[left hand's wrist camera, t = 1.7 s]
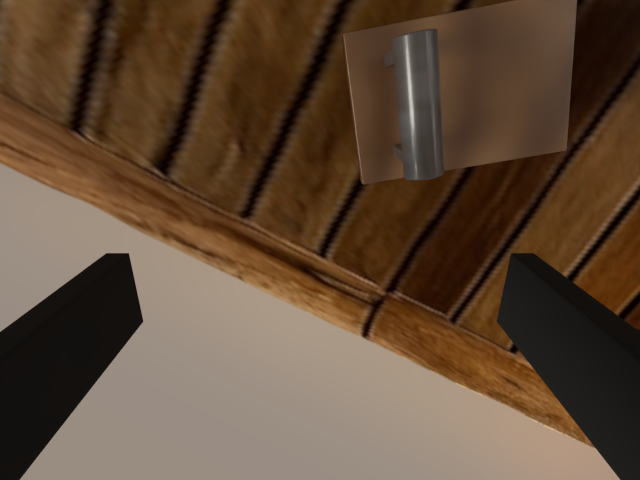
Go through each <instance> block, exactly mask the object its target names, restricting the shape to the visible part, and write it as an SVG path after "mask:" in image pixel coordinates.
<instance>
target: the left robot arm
mask: <svg viewBox="0 0 640 480" xmlns="http://www.w3.org/2000/svg"><path fill="white" fill-rule="evenodd" d="M142 322H143V318H142V314H141V309H140V304H139V299H138V295H137V290H136V285H135V281H134V276H133V271H132V266H131V262H130V257H129V254H128V253H107V254H105V255H104V256H102V257H101V258H100V259H98V260H97V261H96V262H94V263H93V264H91V265H90V266H89V267H87V268H86V269H85V270H83V271H82V272H81V273H79V274H78V275H77V276H75V277H74V278H73V279H71V280H70V281H69V282H67V283H66V284H64V285H63V286H62V287H60V288H59V289H58V290H57V291H55V292H54V293H52V294H51V295H50V296H48V297H47V298H46V299H44V300H43V301H42V302H40V303H39V304H38V305H36V306H35V307H34V308H32V309H31V310H29V311H28V312H27V313H25V314H24V315H23V316H21V317H20V318H19V319H17V320H16V321H15V322H13V323H12V324H11V325H9V326H8V327H6V328H5V329H4V330H2V331H1V332H0V480H20V478H21V477H22V476H23V474H24V473H25V472H26V471H27V469H28V468H29V467H30V466H31V464H32V463H33V462H34V460H35V459H36V458H37V457H38V455H39V454H40V453H41V452H42V450H43V449H44V448H45V446H46V445H47V444H48V442H49V441H50V440H51V439H52V437H53V436H54V435H55V434H56V432H57V431H58V430H59V428H60V427H61V426H62V425H63V423H64V422H65V421H66V420H67V418H68V417H69V416H70V414H71V413H72V412H73V411H74V409H75V408H76V407H77V405H78V404H79V403H80V402H81V400H82V399H83V398H84V397H85V395H86V394H87V393H88V391H89V390H90V389H91V388H92V386H93V385H94V384H95V382H96V381H97V380H98V379H99V377H100V376H101V375H102V373H103V372H104V371H105V370H106V368H107V367H108V366H109V364H110V363H111V362H112V361H113V359H114V358H115V357H116V356H117V354H118V353H119V352H120V350H121V349H122V348H123V347H124V345H125V344H126V343H127V341H128V340H129V339H130V338H131V336H132V335H133V334H134V333H135V331H136V330H137V329H138V327H139V326H140V325H141V324H142ZM497 322H498V324H499V325H500V326H501V327H502V329H503V330H504V331H505V333H506V334H507V335H508V336H509V338H510V339H511V340H512V342H513V343H514V344H515V345H516V347H517V348H518V349H519V350H520V352H521V353H522V354H523V356H524V357H525V358H526V359H527V361H528V362H529V363H530V365H531V366H532V367H533V368H534V370H535V371H536V372H537V373H538V375H539V376H540V377H541V379H542V380H543V381H544V382H545V384H546V385H547V386H548V388H549V389H550V390H551V391H552V393H553V394H554V395H555V397H556V398H557V399H558V400H559V402H560V403H561V404H562V405H563V407H564V408H565V409H566V411H567V412H568V413H569V414H570V416H571V417H572V418H573V420H574V421H575V422H576V423H577V425H578V426H579V427H580V429H581V430H582V431H583V432H584V434H585V435H586V436H587V437H588V439H589V440H590V441H591V443H592V444H593V445H594V446H595V448H596V449H597V450H598V452H599V453H600V454H601V455H602V457H603V458H604V459H605V460H606V462H607V463H608V464H609V466H610V467H611V468H612V469H613V471H614V472H615V473H616V475H617V476H618V477H619V478H620V480H640V330H638V329H635V328H634V327H632V326H631V325H630V324H628V323H627V322H625V321H624V320H623V319H621V318H620V317H619V316H617V315H616V314H615V313H613V312H612V311H611V310H609V309H608V308H607V307H605V306H604V305H603V304H601V303H600V302H598V301H597V300H596V299H594V298H593V297H592V296H590V295H589V294H588V293H586V292H585V291H584V290H582V289H581V288H580V287H578V286H577V285H576V284H574V283H573V282H571V281H570V280H569V279H567V278H566V277H565V276H563V275H562V274H561V273H559V272H558V271H557V270H555V269H554V268H553V267H551V266H550V265H549V264H547V263H546V262H544V261H543V260H542V259H540V258H539V257H538V256H536V255H535V254H534V253H511V257H510V262H509V266H508V271H507V276H506V281H505V285H504V290H503V295H502V299H501V304H500V309H499V314H498V318H497Z"/></svg>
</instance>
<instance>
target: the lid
mask: <svg viewBox="0 0 640 480" xmlns="http://www.w3.org/2000/svg"><path fill="white" fill-rule="evenodd" d="M576 10H577V0H513V1H508V2H503V3H497V4H492V5H487V6H482V7H477V8H471V9H466V10H461V11H456V12H451V13H446V14H440V15H435V16H430V17H425V18H420V19H414V20H409V21H404V22H399V23H394V24H388V25H383V26H378V27H373V28H368V29H363V30H357V31H352V32H347V33H343V36H342V42H343V49H344V57H345V65H346V72H347V80H348V87H349V95H350V103H351V110H352V118H353V126H354V133H355V141H356V148H357V156H358V164H359V171H360V179H361V182H362V184H369V183H375V182H381V181H387V180H393V179H399V178H405V179H408V180H427V179H433V178H437V177H440V176H442V175H443V174H444V172H445V171H446V170H452V169H458V168H464V167H470V166H476V165H482V164H488V163H494V162H500V161H506V160H512V159H518V158H524V157H530V156H536V155H542V154H548V153H554V152H560V151H565V150H566V149H567V135H568V121H569V107H570V93H571V79H572V66H573V52H574V38H575V24H576Z"/></svg>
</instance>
